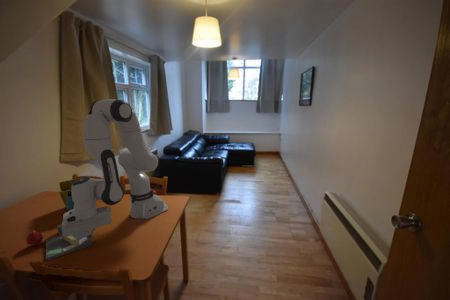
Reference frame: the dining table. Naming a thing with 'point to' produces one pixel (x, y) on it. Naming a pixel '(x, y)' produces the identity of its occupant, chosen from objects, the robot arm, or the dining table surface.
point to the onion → (34, 238)
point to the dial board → (65, 245)
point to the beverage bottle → (70, 202)
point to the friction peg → (69, 238)
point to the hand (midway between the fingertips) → (89, 237)
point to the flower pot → (66, 189)
